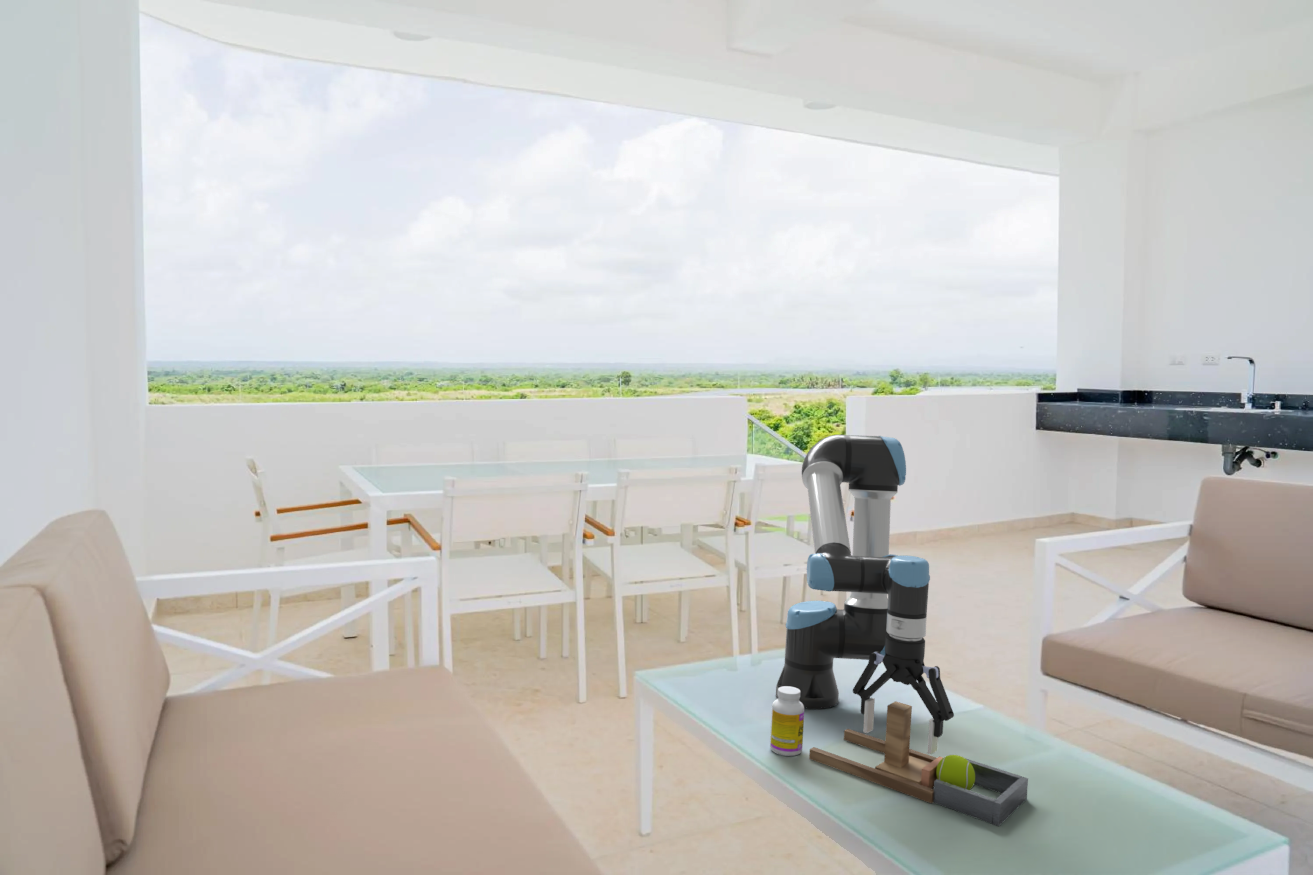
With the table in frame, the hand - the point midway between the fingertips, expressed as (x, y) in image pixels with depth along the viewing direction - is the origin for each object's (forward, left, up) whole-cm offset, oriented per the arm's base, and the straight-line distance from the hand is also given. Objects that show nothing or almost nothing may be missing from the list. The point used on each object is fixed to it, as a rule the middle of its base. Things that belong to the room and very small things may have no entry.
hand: (899, 741), depth 171 cm
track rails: (0, -3, -6) cm, 7 cm away
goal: (0, +16, -6) cm, 17 cm away
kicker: (0, +2, -6) cm, 7 cm away
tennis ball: (0, +12, -6) cm, 13 cm away
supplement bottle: (+8, -21, -6) cm, 23 cm away
